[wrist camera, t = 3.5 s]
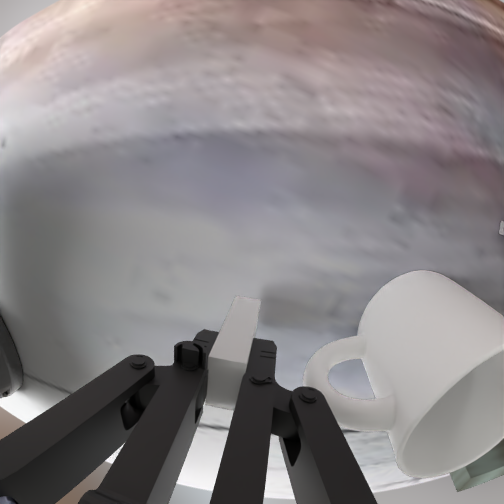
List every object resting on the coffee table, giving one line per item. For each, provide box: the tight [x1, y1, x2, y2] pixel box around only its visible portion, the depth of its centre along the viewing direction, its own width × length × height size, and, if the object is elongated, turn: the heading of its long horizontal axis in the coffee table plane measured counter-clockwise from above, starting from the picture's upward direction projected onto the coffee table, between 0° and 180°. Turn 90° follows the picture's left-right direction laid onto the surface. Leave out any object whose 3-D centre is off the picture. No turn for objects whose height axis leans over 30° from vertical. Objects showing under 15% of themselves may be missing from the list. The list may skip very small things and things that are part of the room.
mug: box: [303, 270, 504, 478], centre depth 13 cm, size 12×8×10 cm
